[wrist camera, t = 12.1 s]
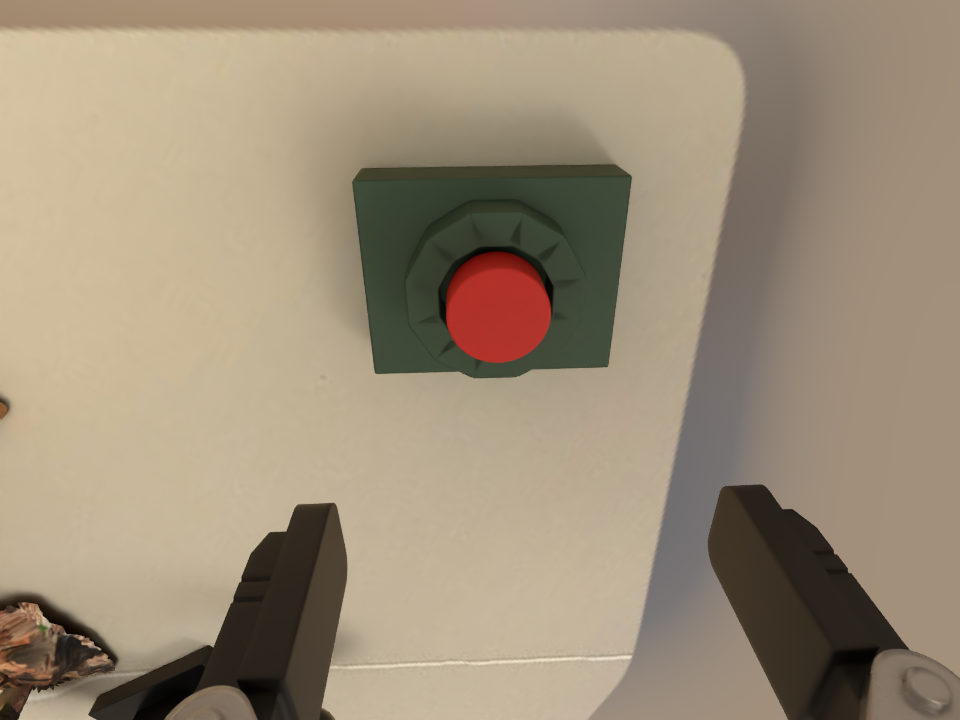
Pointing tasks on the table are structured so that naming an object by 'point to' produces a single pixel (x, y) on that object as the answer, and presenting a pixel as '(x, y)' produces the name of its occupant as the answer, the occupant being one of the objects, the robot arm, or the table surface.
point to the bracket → (153, 691)
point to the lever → (325, 715)
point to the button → (497, 307)
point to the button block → (488, 228)
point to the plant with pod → (40, 657)
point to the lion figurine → (2, 410)
